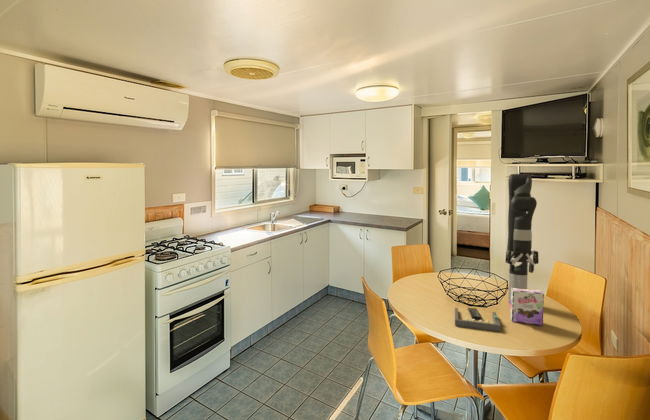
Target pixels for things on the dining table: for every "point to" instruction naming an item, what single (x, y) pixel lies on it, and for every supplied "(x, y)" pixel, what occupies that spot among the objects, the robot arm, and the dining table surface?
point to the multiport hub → (474, 314)
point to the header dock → (478, 323)
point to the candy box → (527, 306)
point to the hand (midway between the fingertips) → (521, 272)
